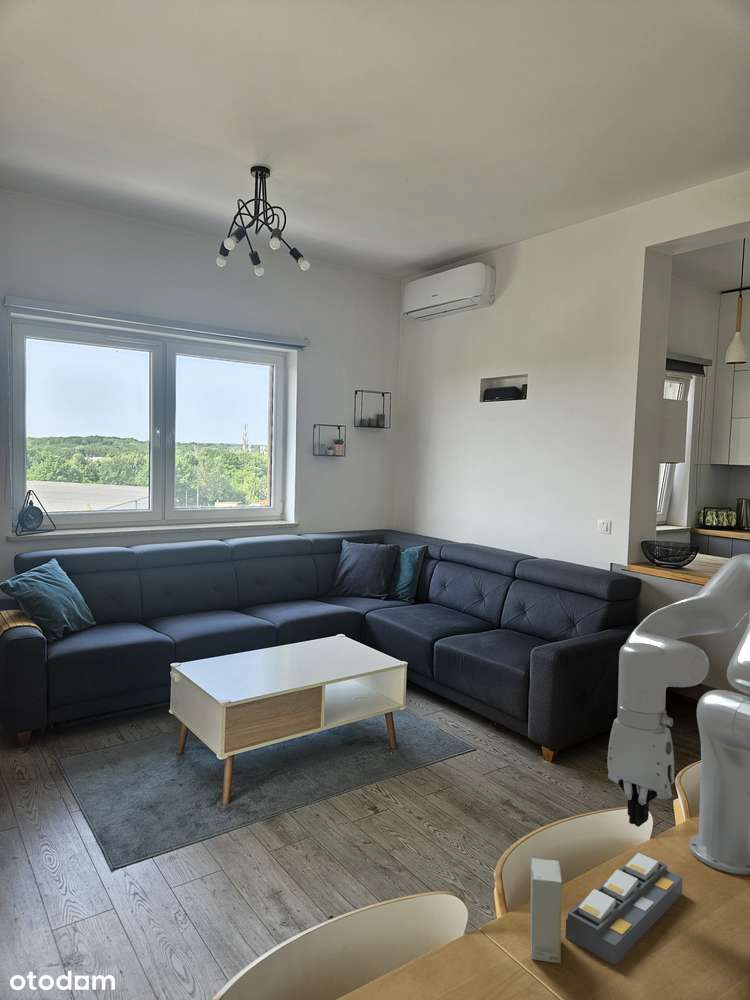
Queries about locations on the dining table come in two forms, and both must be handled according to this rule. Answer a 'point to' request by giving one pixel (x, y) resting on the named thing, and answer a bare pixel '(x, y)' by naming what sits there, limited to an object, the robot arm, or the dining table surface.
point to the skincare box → (545, 910)
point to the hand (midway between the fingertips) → (637, 822)
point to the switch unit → (626, 916)
